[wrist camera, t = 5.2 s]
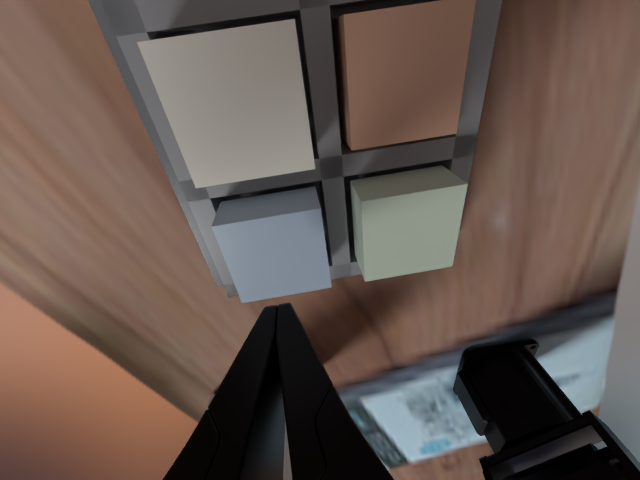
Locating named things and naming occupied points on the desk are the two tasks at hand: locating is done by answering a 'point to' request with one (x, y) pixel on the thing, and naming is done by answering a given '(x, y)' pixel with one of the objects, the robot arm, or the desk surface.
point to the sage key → (406, 221)
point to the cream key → (234, 101)
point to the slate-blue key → (273, 244)
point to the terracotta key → (402, 71)
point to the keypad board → (322, 106)
